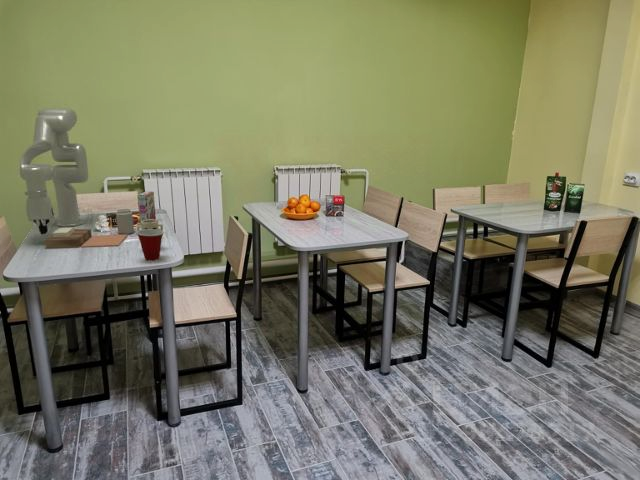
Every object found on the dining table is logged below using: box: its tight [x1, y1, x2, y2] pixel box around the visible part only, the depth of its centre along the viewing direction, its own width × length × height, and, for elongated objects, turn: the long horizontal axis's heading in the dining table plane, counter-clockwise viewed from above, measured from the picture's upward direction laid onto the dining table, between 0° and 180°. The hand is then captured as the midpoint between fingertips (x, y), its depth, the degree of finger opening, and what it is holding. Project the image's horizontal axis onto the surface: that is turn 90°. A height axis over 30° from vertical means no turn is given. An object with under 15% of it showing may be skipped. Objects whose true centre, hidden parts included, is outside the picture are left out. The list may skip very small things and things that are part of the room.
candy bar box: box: [137, 191, 157, 226], centre depth 259 cm, size 11×5×16 cm, turn 178°
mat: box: [80, 234, 129, 248], centre depth 226 cm, size 18×16×1 cm
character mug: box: [136, 218, 164, 232], centre depth 213 cm, size 11×7×13 cm, turn 111°
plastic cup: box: [136, 229, 165, 261], centre depth 201 cm, size 11×11×12 cm
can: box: [115, 208, 135, 235], centre depth 239 cm, size 8×8×12 cm
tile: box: [52, 227, 75, 237], centre depth 222 cm, size 9×6×2 cm, turn 8°
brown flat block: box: [44, 228, 93, 249], centre depth 224 cm, size 18×14×4 cm
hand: (44, 233), depth 221 cm, fingers closed
